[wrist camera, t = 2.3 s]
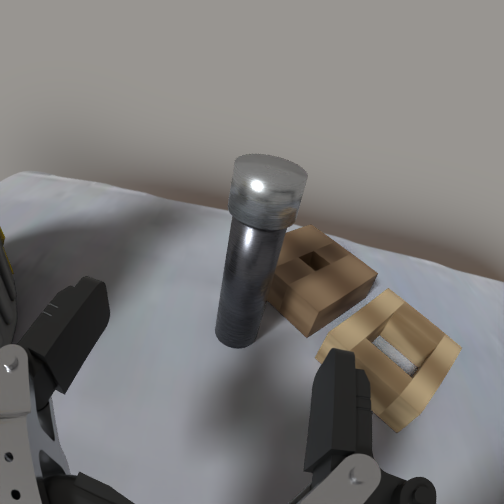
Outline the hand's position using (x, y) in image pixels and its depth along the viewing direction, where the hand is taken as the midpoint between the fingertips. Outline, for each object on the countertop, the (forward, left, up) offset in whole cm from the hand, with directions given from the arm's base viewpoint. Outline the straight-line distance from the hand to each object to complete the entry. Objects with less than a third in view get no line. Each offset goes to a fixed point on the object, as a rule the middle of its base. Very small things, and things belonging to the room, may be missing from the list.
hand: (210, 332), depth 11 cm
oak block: (-18, +4, -13) cm, 23 cm away
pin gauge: (-9, -7, -13) cm, 18 cm away
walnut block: (-19, -8, -13) cm, 25 cm away
